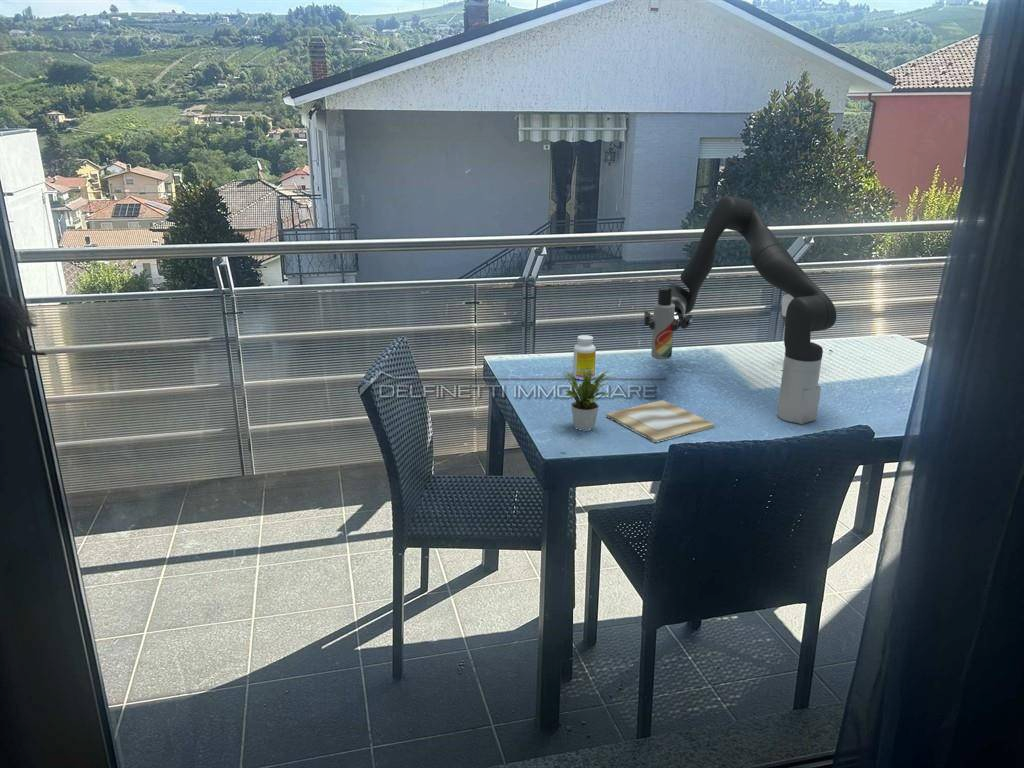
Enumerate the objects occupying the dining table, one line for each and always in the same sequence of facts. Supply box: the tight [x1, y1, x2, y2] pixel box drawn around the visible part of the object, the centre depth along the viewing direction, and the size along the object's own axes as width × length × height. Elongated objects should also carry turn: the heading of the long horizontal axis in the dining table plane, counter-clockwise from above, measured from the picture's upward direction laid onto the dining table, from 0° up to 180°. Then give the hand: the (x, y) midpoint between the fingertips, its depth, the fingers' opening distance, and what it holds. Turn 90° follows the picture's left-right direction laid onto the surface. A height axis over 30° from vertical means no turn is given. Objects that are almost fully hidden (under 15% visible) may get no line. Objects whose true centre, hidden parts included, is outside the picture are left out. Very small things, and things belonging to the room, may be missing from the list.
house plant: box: [564, 366, 617, 430], centre depth 201 cm, size 14×14×16 cm
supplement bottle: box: [572, 334, 597, 381], centre depth 240 cm, size 7×7×13 cm
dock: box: [605, 399, 715, 442], centre depth 208 cm, size 20×20×1 cm
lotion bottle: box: [650, 286, 675, 361], centre depth 219 cm, size 6×6×20 cm
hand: (662, 326), depth 217 cm, fingers closed on lotion bottle, 5 cm apart
